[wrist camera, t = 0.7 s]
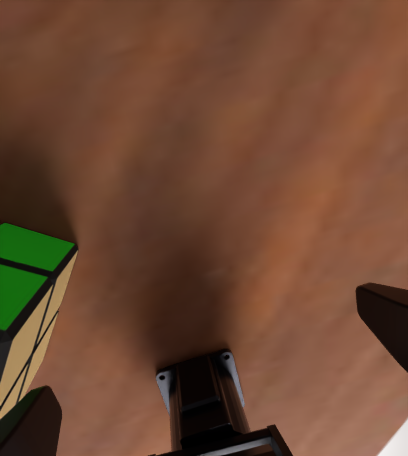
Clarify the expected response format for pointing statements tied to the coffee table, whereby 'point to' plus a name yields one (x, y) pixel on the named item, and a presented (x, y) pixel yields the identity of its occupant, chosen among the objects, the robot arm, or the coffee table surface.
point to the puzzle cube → (28, 304)
